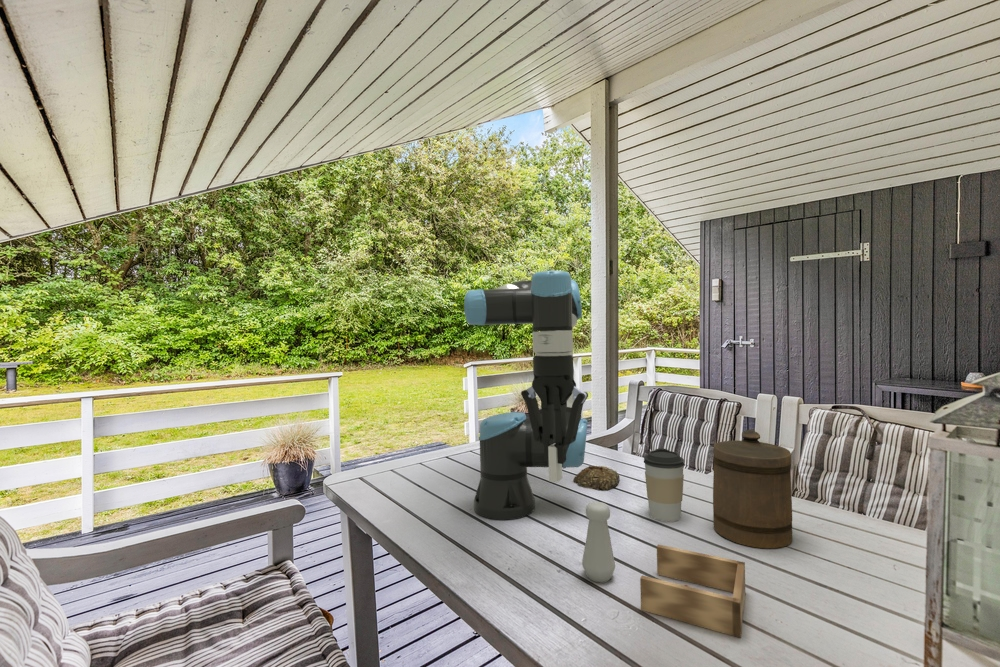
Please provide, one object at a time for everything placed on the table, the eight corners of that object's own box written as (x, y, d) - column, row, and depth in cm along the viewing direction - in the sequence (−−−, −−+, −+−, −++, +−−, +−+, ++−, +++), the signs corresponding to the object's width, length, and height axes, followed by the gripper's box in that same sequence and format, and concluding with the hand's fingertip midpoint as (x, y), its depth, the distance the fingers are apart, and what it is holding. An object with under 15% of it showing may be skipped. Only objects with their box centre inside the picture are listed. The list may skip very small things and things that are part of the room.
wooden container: (806, 536, 97) (804, 431, 97) (769, 556, 89) (767, 442, 89) (737, 513, 110) (735, 420, 110) (699, 529, 102) (697, 429, 102)
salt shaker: (579, 581, 82) (577, 508, 82) (585, 565, 87) (584, 496, 87) (613, 587, 80) (611, 512, 80) (617, 571, 85) (616, 500, 85)
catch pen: (640, 609, 74) (640, 578, 73) (658, 571, 85) (657, 544, 85) (740, 637, 66) (740, 602, 66) (745, 592, 78) (744, 562, 78)
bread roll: (624, 480, 136) (624, 463, 136) (610, 493, 126) (610, 475, 126) (583, 474, 143) (583, 457, 143) (566, 486, 133) (566, 468, 132)
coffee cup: (689, 524, 104) (687, 458, 104) (646, 522, 106) (645, 456, 106) (681, 509, 113) (680, 447, 113) (642, 507, 115) (641, 446, 115)
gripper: (512, 355, 87) (515, 480, 88) (578, 355, 81) (581, 491, 81) (530, 352, 94) (533, 469, 94) (593, 353, 87) (595, 479, 87)
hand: (555, 479), depth 87 cm, fingers closed
